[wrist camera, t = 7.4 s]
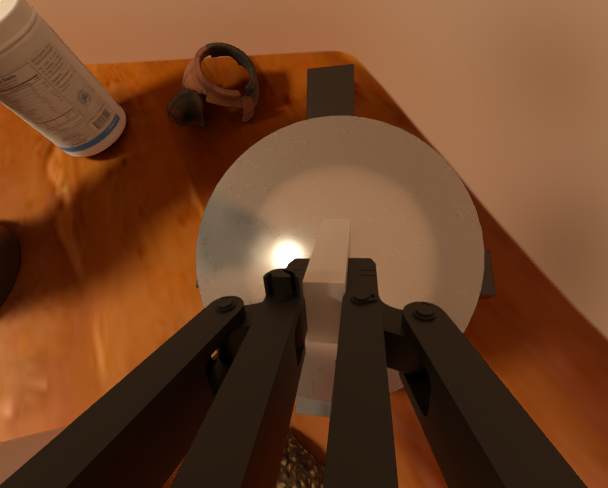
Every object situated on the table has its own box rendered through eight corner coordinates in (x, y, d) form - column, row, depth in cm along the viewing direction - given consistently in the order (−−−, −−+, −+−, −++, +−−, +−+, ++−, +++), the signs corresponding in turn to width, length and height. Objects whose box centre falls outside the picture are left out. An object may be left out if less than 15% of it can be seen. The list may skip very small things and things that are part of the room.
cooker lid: (216, 89, 22) (208, 78, 21) (465, 64, 19) (472, 49, 18) (196, 382, 19) (186, 388, 18) (484, 407, 16) (494, 417, 15)
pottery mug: (215, 75, 43) (221, 22, 36) (265, 121, 44) (281, 79, 37) (149, 119, 38) (140, 67, 30) (207, 170, 39) (212, 132, 31)
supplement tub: (69, 126, 44) (-58, 14, 31) (128, 99, 44) (25, -24, 31) (66, 171, 39) (-86, 62, 26) (132, 142, 39) (12, 18, 26)
